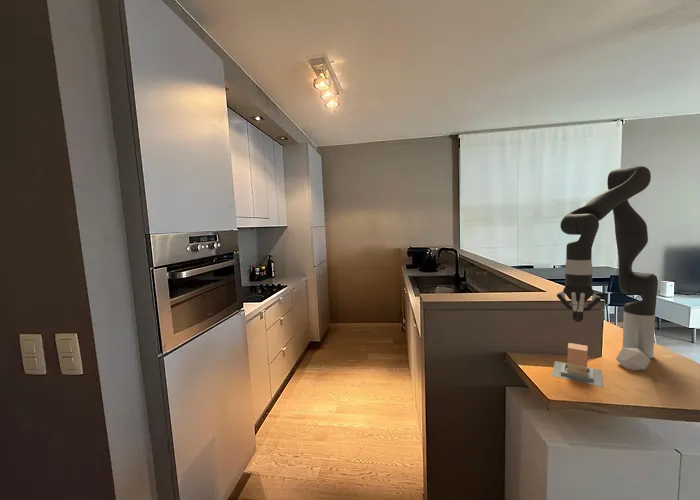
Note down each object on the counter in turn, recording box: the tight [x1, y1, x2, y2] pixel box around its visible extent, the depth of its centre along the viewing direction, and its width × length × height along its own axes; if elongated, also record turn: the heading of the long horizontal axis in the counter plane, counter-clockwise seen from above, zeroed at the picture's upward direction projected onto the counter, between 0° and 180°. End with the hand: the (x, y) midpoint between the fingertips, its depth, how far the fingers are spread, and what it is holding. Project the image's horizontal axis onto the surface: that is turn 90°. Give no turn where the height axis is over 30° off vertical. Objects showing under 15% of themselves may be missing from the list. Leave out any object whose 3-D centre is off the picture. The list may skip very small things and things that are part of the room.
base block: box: [566, 361, 588, 376], centre depth 110 cm, size 6×6×4 cm
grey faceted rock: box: [615, 347, 652, 371], centre depth 113 cm, size 8×9×10 cm
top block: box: [567, 342, 589, 367], centre depth 110 cm, size 6×6×6 cm
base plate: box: [551, 360, 604, 388], centre depth 110 cm, size 14×14×2 cm
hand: (577, 321), depth 109 cm, fingers closed
